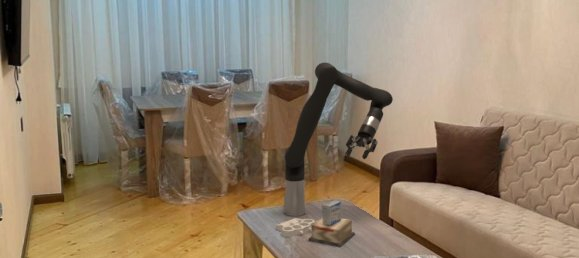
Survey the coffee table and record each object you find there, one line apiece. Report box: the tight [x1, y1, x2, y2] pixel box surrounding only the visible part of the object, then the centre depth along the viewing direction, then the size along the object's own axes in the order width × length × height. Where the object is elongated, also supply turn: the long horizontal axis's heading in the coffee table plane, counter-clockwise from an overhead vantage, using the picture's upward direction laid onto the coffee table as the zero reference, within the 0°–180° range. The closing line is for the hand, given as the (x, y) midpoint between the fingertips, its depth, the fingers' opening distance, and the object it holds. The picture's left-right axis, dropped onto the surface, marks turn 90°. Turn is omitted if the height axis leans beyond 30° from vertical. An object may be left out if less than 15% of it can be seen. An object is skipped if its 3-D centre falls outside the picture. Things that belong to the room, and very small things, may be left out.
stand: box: [308, 217, 356, 248], centre depth 252 cm, size 15×15×7 cm
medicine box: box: [321, 200, 342, 226], centre depth 251 cm, size 8×4×9 cm, turn 141°
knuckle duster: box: [275, 217, 316, 238], centre depth 262 cm, size 3×18×15 cm
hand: (355, 156), depth 266 cm, fingers open, 8 cm apart
